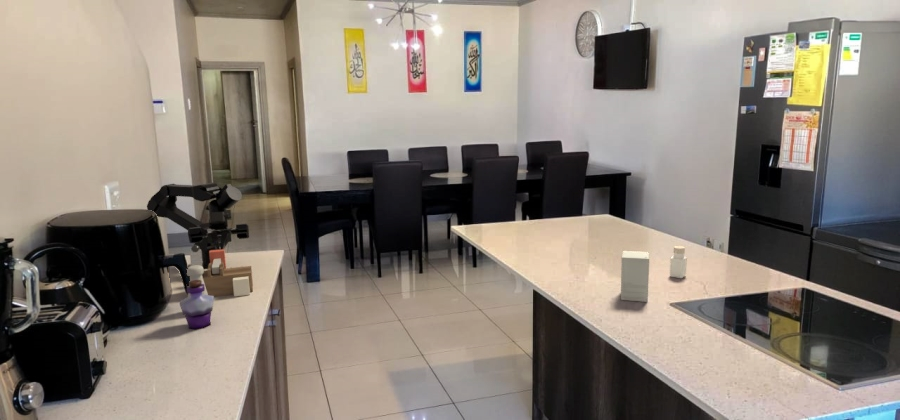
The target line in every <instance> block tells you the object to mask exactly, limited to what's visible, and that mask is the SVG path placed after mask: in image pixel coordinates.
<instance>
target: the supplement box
mask: <svg viewBox="0 0 900 420" xmlns="http://www.w3.org/2000/svg"><path fill="white" fill-rule="evenodd" d="M620 268H621V269H620V270H621V274H620V275H621V276H620V278H621V279H620V301H628V302H629V301H631V302H643V303H644V302H645V303H648V299H649V275H650V254H649V252H648V251H637V250H636V251H635V250H634V251H633V250H632V251H629V250H623V251H622V254H621V267H620Z"/></svg>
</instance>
